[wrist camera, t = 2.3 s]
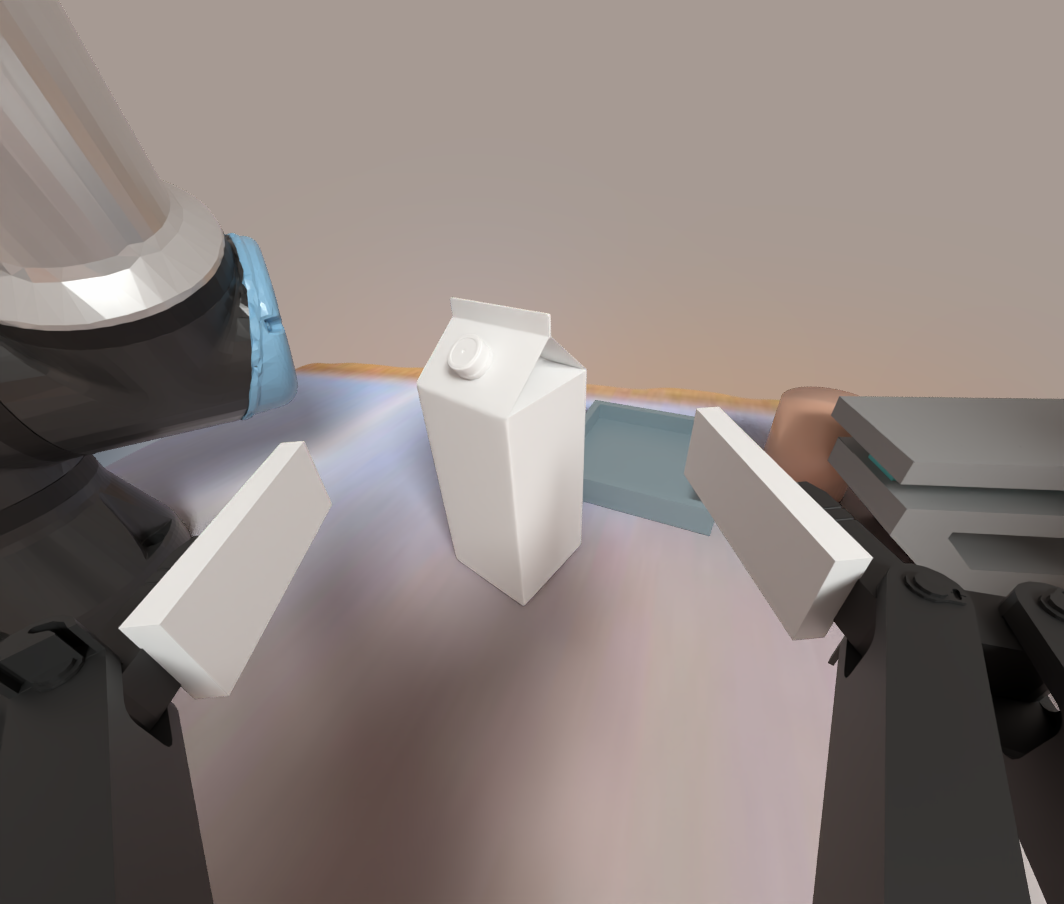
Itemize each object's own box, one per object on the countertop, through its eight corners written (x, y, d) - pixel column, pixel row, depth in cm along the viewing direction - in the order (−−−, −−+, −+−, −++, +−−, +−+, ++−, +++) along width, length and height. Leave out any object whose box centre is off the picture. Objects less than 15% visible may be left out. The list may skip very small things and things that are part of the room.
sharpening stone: (835, 589, 27) (913, 462, 21) (789, 511, 34) (839, 396, 28) (1282, 621, 24) (1527, 481, 18) (1137, 528, 30) (1282, 401, 24)
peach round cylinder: (754, 494, 36) (781, 416, 31) (757, 453, 41) (780, 381, 36) (848, 516, 33) (892, 433, 28) (839, 469, 38) (875, 393, 34)
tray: (544, 490, 37) (543, 468, 36) (594, 419, 48) (595, 400, 47) (709, 536, 32) (716, 512, 30) (724, 443, 42) (730, 422, 41)
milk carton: (515, 509, 36) (493, 285, 25) (581, 546, 32) (590, 298, 21) (455, 559, 31) (398, 312, 20) (524, 608, 27) (498, 335, 17)
